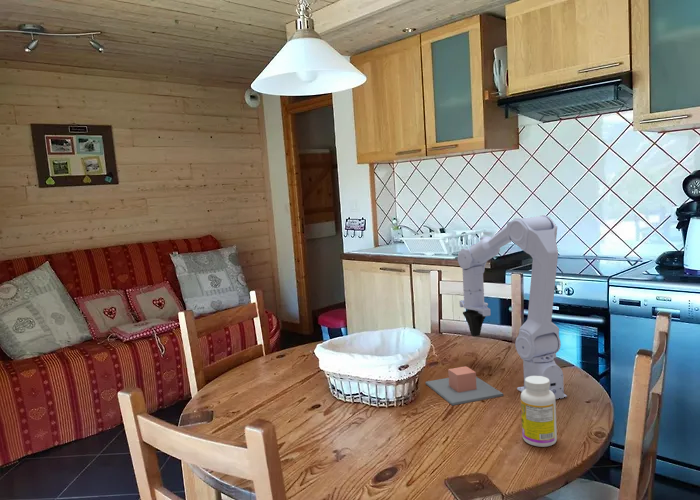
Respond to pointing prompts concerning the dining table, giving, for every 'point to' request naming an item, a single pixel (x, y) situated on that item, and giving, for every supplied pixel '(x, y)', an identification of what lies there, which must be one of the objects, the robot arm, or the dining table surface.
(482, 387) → the grey square base plate
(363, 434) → the dining table surface
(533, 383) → the supplement bottle
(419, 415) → the dining table surface
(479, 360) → the dining table surface
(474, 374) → the peach rounded cube
